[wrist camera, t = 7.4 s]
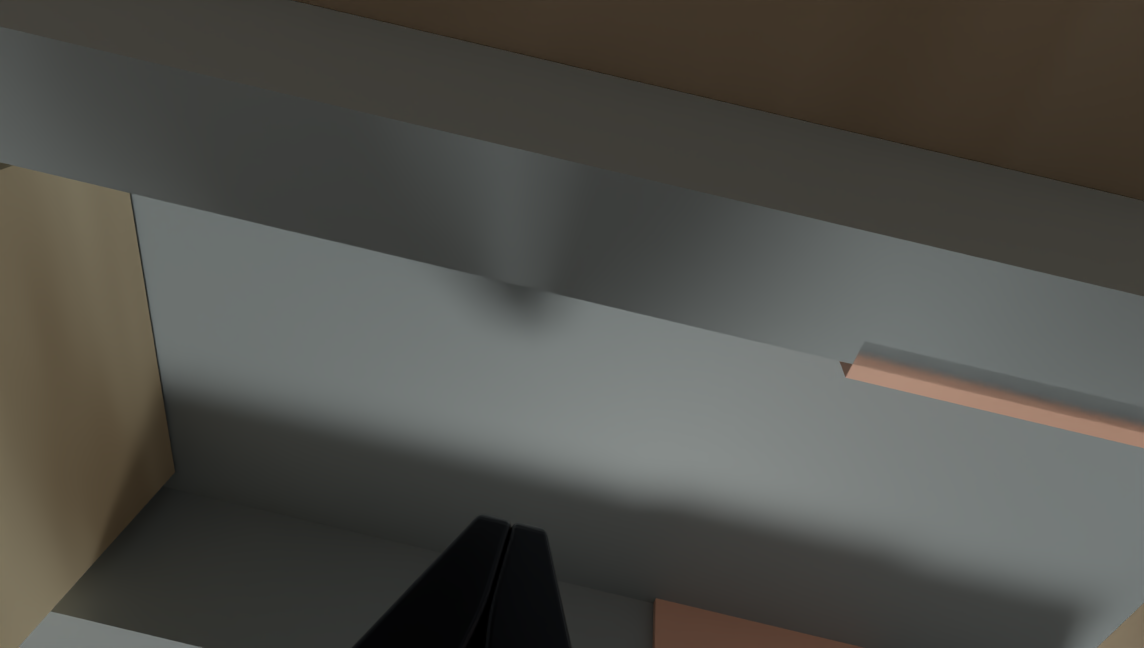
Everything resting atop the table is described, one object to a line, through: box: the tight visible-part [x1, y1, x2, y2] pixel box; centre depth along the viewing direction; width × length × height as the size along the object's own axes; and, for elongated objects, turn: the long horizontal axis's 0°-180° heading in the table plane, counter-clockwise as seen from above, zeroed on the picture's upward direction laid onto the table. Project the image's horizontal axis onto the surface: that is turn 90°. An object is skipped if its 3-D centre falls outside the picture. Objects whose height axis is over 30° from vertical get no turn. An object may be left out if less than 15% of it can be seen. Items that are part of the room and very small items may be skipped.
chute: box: [0, 0, 1144, 648], centre depth 9 cm, size 20×9×4 cm, turn 79°
